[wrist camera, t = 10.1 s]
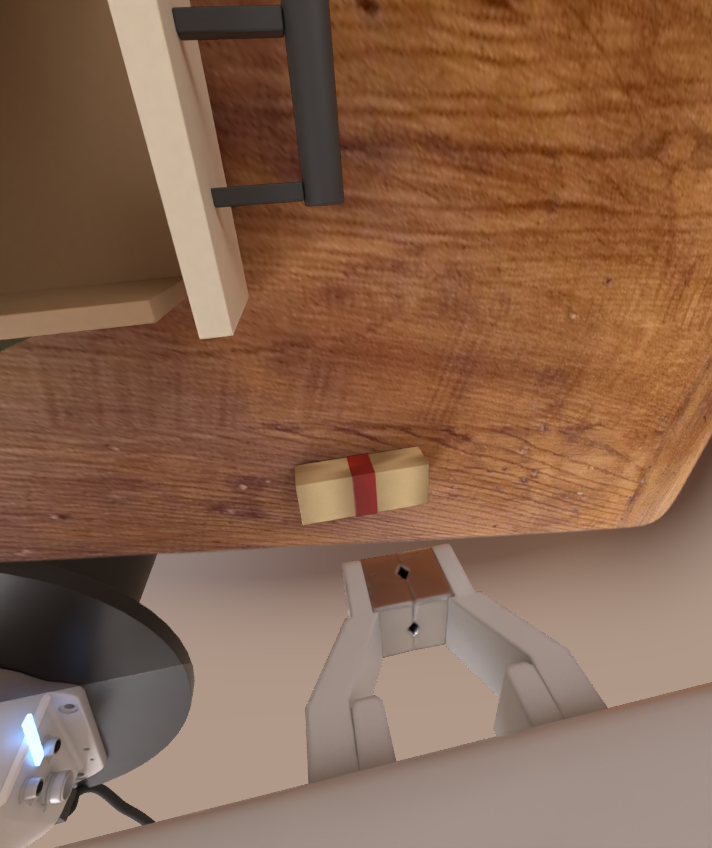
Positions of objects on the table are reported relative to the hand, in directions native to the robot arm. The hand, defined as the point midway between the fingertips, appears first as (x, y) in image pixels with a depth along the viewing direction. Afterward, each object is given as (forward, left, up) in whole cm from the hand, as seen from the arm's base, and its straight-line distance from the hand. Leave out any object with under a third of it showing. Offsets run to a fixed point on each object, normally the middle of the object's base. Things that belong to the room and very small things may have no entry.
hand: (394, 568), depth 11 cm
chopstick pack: (-8, -1, -16) cm, 18 cm away
